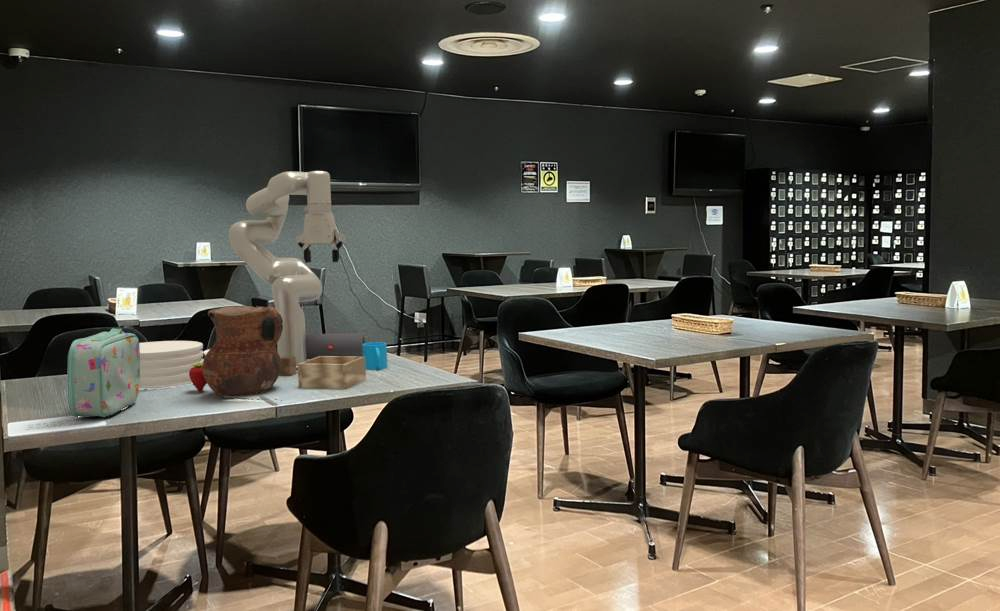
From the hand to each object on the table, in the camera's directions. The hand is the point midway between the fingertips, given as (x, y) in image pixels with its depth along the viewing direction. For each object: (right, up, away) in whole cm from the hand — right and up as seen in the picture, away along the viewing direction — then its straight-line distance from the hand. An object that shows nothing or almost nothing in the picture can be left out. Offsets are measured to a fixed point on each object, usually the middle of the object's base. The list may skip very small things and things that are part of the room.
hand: (321, 262), depth 272 cm
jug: (-16, -40, -32) cm, 53 cm away
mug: (+17, -36, +8) cm, 40 cm away
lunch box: (-45, -42, -52) cm, 81 cm away
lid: (-9, -38, -7) cm, 40 cm away
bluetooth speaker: (-2, -34, +27) cm, 43 cm away
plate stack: (-50, -39, -9) cm, 64 cm away
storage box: (+9, -38, -24) cm, 46 cm away
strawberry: (-30, -40, -27) cm, 56 cm away
